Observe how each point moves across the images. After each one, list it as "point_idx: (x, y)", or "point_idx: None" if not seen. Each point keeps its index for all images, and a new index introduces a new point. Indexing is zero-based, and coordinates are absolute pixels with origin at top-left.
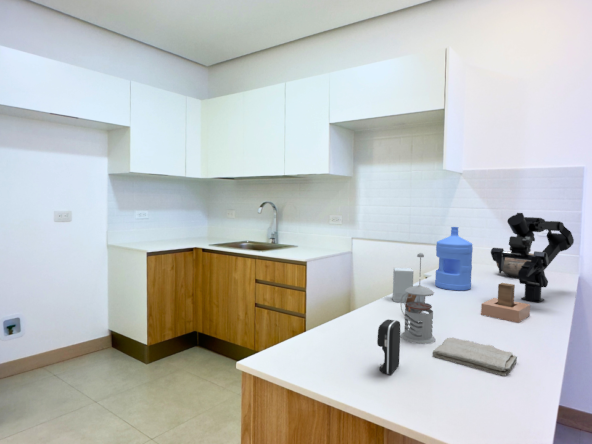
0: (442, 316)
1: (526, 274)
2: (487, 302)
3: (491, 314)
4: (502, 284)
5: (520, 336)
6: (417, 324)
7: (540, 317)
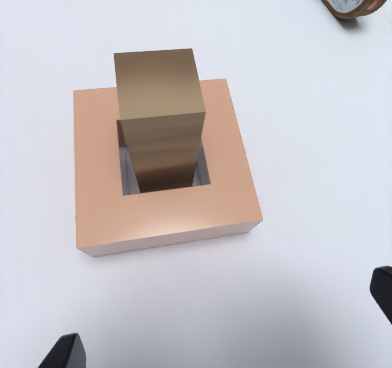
0: (268, 15)
1: (74, 336)
2: (224, 112)
3: None
4: (174, 61)
5: (38, 15)
6: None
7: (47, 271)
